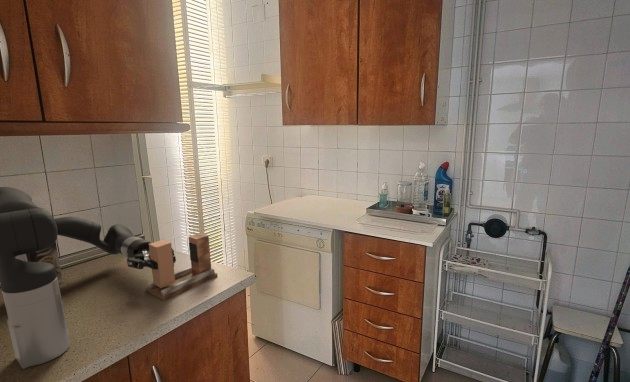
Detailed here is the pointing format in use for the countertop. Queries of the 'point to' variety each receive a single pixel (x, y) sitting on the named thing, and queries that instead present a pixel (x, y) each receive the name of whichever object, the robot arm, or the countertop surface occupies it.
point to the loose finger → (162, 263)
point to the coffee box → (44, 258)
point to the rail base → (189, 270)
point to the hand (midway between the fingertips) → (165, 263)
